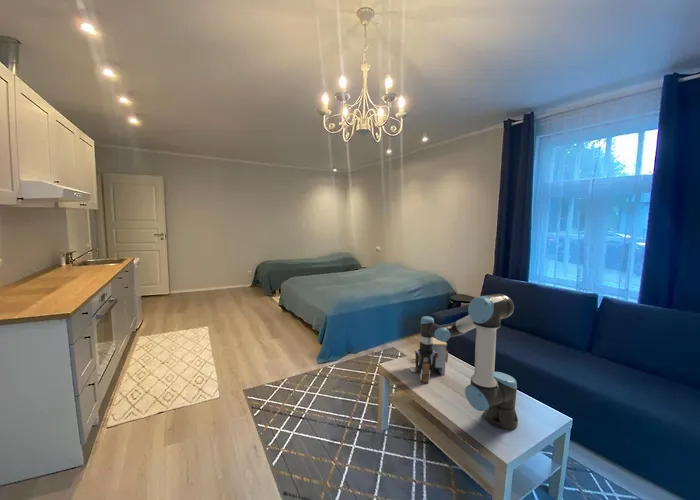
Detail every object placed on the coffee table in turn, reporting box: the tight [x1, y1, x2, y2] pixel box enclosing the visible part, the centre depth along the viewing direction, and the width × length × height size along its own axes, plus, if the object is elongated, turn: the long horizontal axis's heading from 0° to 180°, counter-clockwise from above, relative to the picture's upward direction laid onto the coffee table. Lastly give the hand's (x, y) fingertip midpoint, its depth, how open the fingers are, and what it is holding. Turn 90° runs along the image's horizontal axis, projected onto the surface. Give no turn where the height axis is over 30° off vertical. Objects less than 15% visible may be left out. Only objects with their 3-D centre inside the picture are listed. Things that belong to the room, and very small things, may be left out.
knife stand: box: [417, 348, 449, 363], centre depth 209 cm, size 4×20×7 cm, turn 90°
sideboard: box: [423, 337, 448, 376], centre depth 193 cm, size 13×14×21 cm
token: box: [409, 366, 418, 374], centre depth 194 cm, size 5×5×2 cm
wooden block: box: [417, 361, 430, 384], centre depth 187 cm, size 17×4×12 cm, turn 0°
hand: (424, 378), depth 181 cm, fingers closed on wooden block, 4 cm apart
